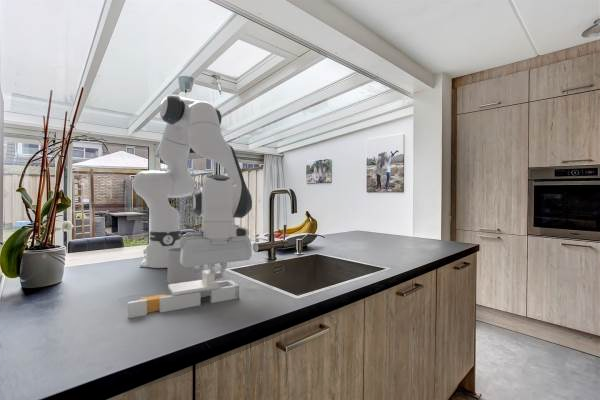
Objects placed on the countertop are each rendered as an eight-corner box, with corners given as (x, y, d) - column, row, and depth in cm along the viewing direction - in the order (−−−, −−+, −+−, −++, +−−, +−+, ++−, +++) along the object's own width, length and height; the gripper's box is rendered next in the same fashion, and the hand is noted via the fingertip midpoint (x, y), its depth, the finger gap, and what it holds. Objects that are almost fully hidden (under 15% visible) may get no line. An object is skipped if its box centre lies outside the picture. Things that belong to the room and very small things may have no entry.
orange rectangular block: (133, 310, 78) (133, 299, 78) (171, 304, 83) (171, 293, 83) (134, 314, 75) (134, 302, 75) (173, 307, 80) (173, 296, 80)
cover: (167, 287, 85) (167, 273, 85) (210, 281, 91) (211, 268, 91) (173, 295, 78) (173, 280, 78) (219, 288, 85) (219, 274, 85)
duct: (126, 308, 79) (126, 294, 79) (230, 291, 94) (230, 279, 94) (128, 318, 73) (128, 303, 73) (239, 298, 88) (239, 285, 88)
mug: (169, 286, 98) (169, 252, 98) (165, 280, 106) (165, 248, 105) (207, 281, 104) (207, 249, 104) (201, 275, 112) (201, 245, 111)
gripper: (182, 234, 80) (182, 286, 80) (254, 230, 91) (253, 276, 91) (177, 231, 85) (177, 280, 85) (245, 227, 96) (245, 271, 97)
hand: (217, 278), depth 88 cm, fingers closed
